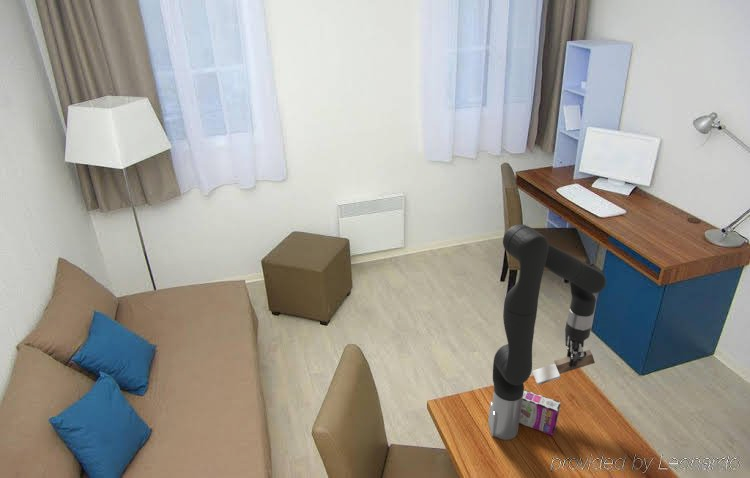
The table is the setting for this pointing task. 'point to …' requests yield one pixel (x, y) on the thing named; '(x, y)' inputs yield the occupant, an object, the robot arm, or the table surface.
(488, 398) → the table surface
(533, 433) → the table surface
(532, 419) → the candy bar box
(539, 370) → the turner
